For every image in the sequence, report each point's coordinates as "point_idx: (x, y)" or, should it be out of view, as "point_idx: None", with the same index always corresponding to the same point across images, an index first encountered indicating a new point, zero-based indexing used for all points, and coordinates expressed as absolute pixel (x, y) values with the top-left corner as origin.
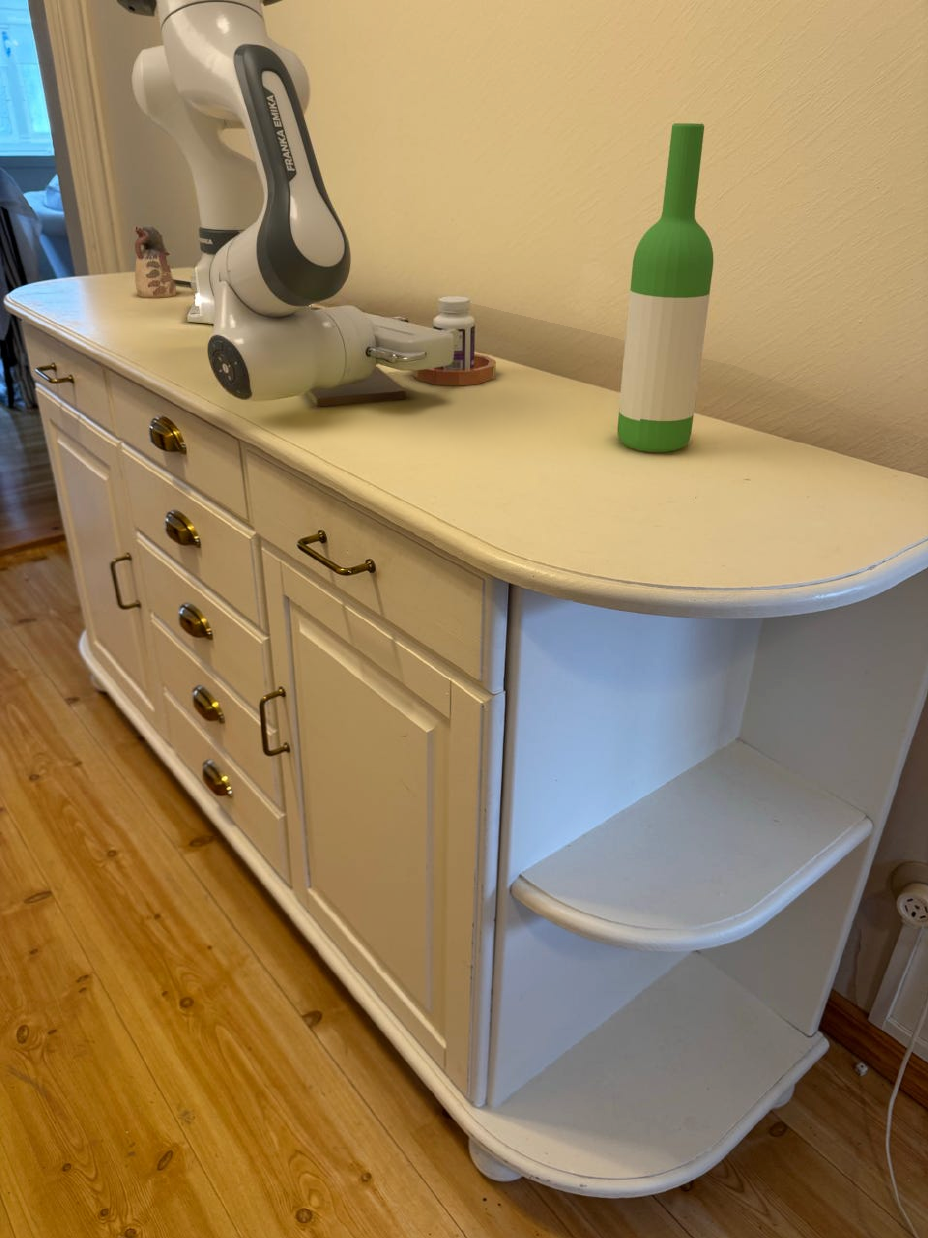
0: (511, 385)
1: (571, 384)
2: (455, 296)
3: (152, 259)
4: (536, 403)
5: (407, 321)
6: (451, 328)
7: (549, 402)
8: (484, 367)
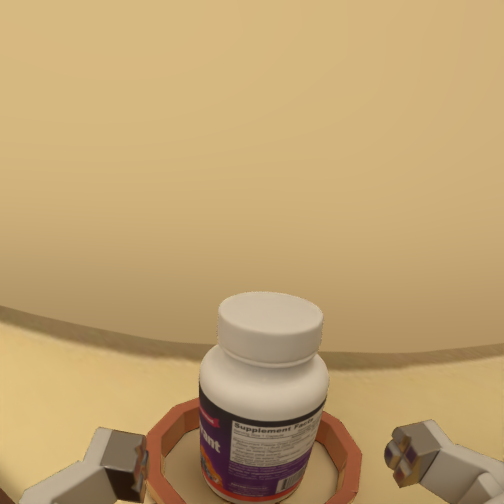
0: (384, 435)
1: (404, 379)
2: (240, 296)
3: None
4: (493, 442)
5: (144, 442)
6: (315, 407)
7: (489, 428)
8: (345, 436)
